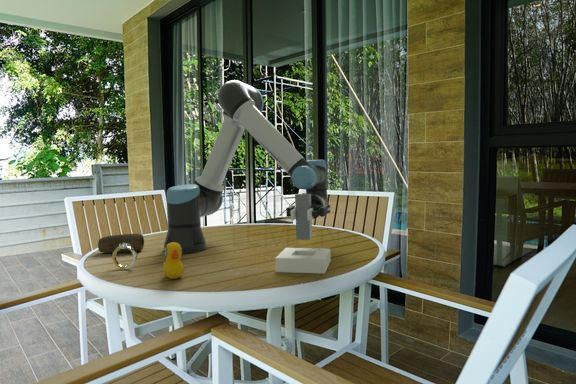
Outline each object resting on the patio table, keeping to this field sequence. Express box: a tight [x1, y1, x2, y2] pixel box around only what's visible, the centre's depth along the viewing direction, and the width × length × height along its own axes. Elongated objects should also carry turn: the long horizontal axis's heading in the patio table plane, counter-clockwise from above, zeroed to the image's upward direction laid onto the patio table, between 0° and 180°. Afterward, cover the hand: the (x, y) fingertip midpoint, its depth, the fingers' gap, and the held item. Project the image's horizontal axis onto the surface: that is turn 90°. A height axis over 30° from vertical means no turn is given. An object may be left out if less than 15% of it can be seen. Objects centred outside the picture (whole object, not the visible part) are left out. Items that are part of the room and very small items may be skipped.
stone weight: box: [97, 233, 145, 254], centre depth 147 cm, size 15×7×7 cm, turn 102°
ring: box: [111, 243, 138, 270], centre depth 122 cm, size 7×3×8 cm, turn 83°
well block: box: [274, 247, 331, 274], centre depth 121 cm, size 14×14×4 cm
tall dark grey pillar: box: [294, 193, 313, 241], centre depth 120 cm, size 4×4×13 cm
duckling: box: [162, 242, 185, 280], centre depth 112 cm, size 11×5×10 cm, turn 22°
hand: (300, 215), depth 115 cm, fingers closed on tall dark grey pillar, 4 cm apart
